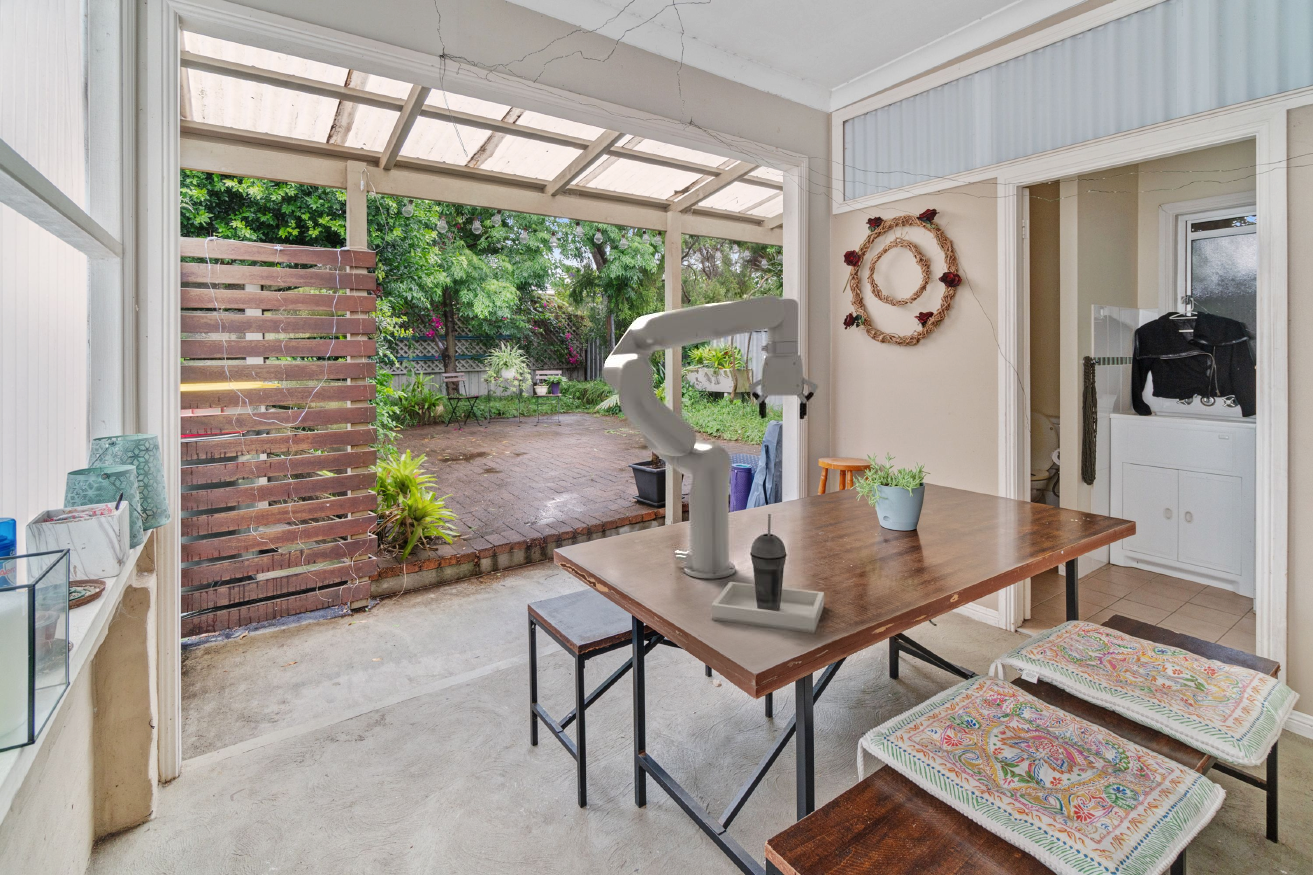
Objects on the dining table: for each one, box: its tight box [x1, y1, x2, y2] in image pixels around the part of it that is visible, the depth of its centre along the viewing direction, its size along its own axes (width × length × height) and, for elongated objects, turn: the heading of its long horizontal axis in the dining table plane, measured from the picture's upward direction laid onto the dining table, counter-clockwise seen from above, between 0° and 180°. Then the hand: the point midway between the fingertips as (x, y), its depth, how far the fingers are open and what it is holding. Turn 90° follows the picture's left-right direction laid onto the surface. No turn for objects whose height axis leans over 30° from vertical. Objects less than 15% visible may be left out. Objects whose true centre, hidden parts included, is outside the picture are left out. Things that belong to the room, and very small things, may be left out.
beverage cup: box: [749, 513, 788, 611], centre depth 127 cm, size 7×7×20 cm
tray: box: [710, 581, 825, 634], centre depth 127 cm, size 20×14×3 cm
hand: (782, 418), depth 158 cm, fingers open, 9 cm apart
